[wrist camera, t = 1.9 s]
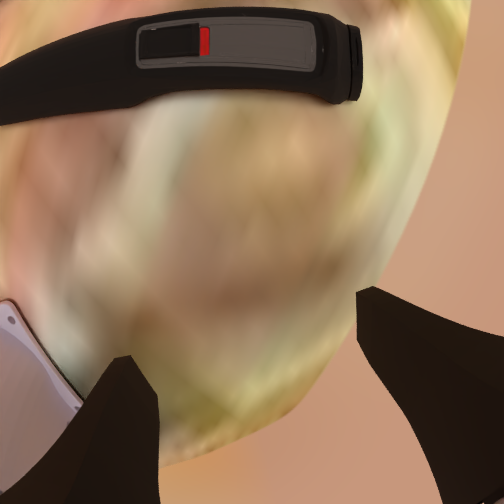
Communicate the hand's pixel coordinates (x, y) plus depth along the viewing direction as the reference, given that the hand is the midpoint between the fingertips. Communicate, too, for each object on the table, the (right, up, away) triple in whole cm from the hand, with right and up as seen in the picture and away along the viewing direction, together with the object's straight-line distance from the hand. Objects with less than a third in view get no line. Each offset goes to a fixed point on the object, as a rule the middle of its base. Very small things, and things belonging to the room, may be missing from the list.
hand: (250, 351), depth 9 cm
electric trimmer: (-3, +10, +1) cm, 11 cm away
